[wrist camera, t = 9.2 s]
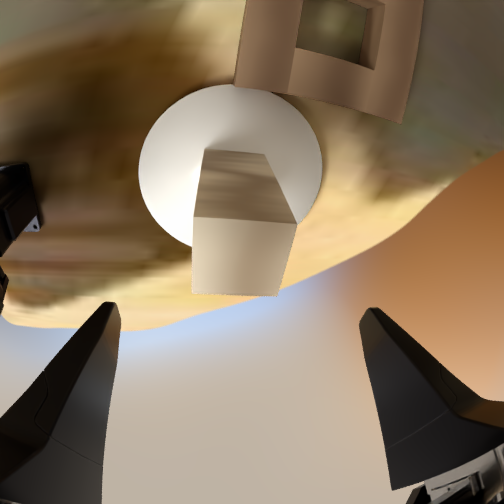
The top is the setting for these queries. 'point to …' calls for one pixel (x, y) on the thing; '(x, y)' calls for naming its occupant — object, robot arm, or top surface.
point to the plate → (225, 138)
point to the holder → (327, 67)
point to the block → (239, 226)
